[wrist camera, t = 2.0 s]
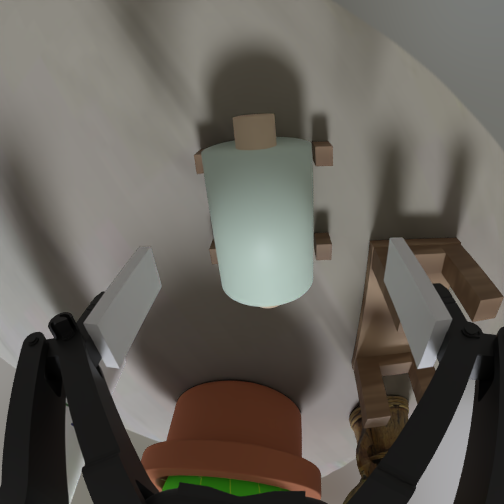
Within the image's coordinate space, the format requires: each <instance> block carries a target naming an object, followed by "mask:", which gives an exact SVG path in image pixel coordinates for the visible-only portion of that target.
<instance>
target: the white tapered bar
mask: <svg viewBox="0 0 504 504" xmlns="http://www.w3.org/2000/svg"><path fill="white" fill-rule="evenodd" d="M125 364H126V360H125V359H124V361H123V363H122V365H121V367H120V369H119V368H112V367H107V366H106V365H105V363H104V361H103V359H101V361H100V362H99V366H100V367H101V369H102V372H103V375H104V378H105V380H106V383H107V386H108V388H109V391H110V394H111V396H112V394H113V391H114V389H115V387H116V384H117V382H118V380H119V377H120V375H121V373H122V371H123V368H124V366H125ZM65 447H66V470H67V484H68V495H69V504H70V503H71V500H72V497H73V494H74V491H75V489H76V486H77V483H78V480H79V477H80V474H81V472H82V467H83V466H84V463H85V461H84V458H83V455H82V452H81V449H80V446H79V443H78V440H77V436H76V433H75V429H74V426H73V422H72V418H71V415H70V411H69V407H68V402H67V398H66V414H65Z"/></svg>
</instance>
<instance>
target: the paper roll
mask: <svg viewBox="0 0 504 504" xmlns="http://www.w3.org/2000/svg"><path fill="white" fill-rule="evenodd" d="M233 128H234V137H235V140H234V141H229V142H224V143H220V144H217V145H213V146H211V147H208V148H206V149H204V150H203V151H202V152H201V156H202V163H203V170H204V177H205V183H206V190H207V197H208V203H209V210H210V216H211V223H212V229H213V235H214V241H215V247H216V253H217V259H218V265H219V271H220V277H221V282H222V287H223V290H224V291H225V293H226V294H227V295H228V296H229V297H230V298H232V299H233V300H235V301H237V302H239V303H242V304H245V305H250V306H257V307H261V308H274V307H277V306H279V305H282V304H286V303H289V302H291V301H294V300H296V299H297V298H299V297H301V296H302V295H303V294H305V293H306V292H307V291H308V289H309V288H310V286H311V285H312V282H313V169H312V144H311V143H310V142H309V141H307V140H303V139H298V138H290V137H276V129H275V117H274V114H272V113H261V114H248V115H241V116H235V117H233Z"/></svg>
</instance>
